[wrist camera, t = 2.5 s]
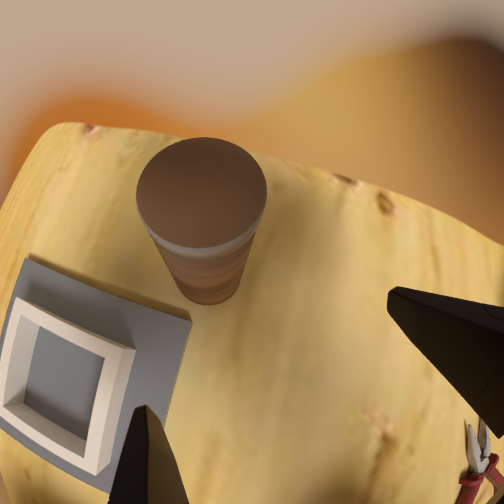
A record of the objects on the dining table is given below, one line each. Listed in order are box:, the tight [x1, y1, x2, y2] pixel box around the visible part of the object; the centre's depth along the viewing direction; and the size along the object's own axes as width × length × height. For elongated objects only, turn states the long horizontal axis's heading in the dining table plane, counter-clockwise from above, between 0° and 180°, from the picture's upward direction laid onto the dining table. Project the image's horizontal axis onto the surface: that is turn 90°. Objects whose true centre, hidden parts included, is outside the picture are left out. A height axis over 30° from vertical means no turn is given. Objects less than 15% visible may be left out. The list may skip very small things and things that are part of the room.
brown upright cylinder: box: [136, 137, 267, 305], centre depth 16 cm, size 5×5×12 cm
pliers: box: [456, 419, 504, 504], centre depth 16 cm, size 12×20×3 cm, turn 16°
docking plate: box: [0, 258, 192, 494], centre depth 16 cm, size 16×16×4 cm
